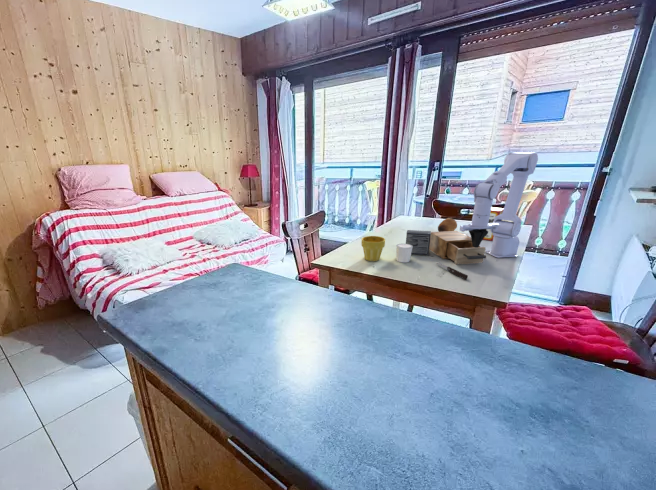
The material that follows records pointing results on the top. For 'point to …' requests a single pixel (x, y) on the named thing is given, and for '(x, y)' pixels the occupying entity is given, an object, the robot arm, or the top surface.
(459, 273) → the kitchen knife
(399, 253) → the white tapered cylinder
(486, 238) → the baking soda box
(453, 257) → the drawer
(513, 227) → the robot arm
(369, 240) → the flower pot
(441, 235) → the cabinet
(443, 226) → the potato
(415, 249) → the small box
